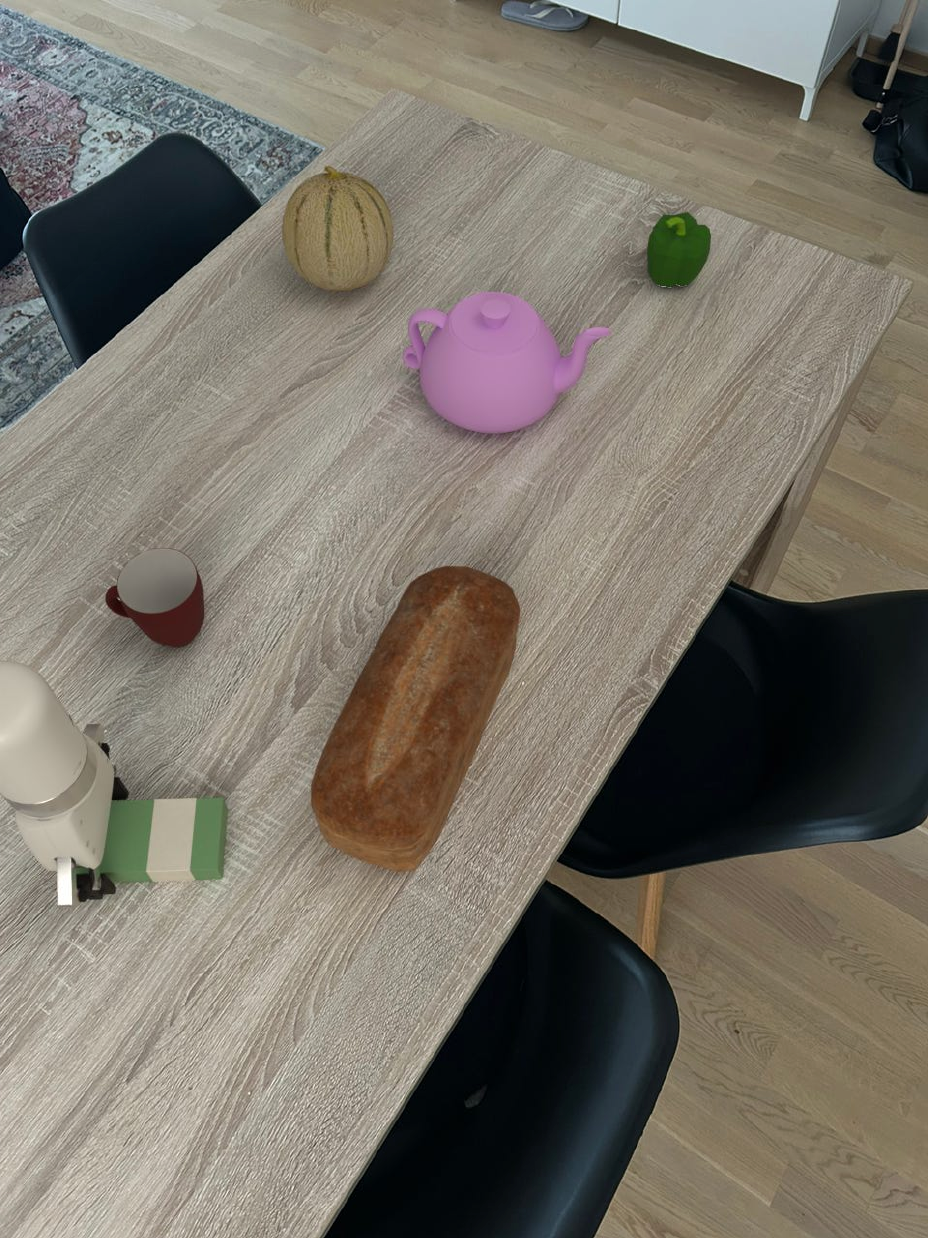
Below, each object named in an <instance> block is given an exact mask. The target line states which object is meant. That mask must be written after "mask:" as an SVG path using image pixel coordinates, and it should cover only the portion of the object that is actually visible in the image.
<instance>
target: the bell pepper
mask: <svg viewBox="0 0 928 1238" xmlns="http://www.w3.org/2000/svg"><path fill="white" fill-rule="evenodd" d="M711 243H712V234H711V229H710V228H709V227H708V226H707V225H706V224H698V221H697V219H696V218H695V217H694V216H693V215H692V214H691V213H689V212H688V211H684V212H681V213H677V214H662V215H661V217H660V218H659V219H658V220H657V222H656V223H655V225H654V226H653V228H652V231H651V232H650V234H649V236H648V242H647V246H646V247H647V248H646V249H647V250H646V251H647V252H646V262H647V272H648V276H649V277H650V279H651V278H652V279H651V281H652V282H653V281H654V282H655V283H656V284H658V285H660V286H666V287H672V288H674V287H675V286H674V285H676V284H677V285H680V286H685V285H687V286H689V285H690V284H691V283H693V281H695V280H696V279H697V278H698V276H699V274H700V273H701V272H702V269H703V268H704V266H705V265H706V264H707V261H708V258H709V255H710V251H711ZM654 282H653V283H654ZM655 283H654V284H655ZM656 284H655V285H656ZM688 284H689V285H688ZM658 285H657V286H658ZM673 286H674V287H673Z"/></svg>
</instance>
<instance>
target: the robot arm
mask: <svg viewBox="0 0 928 1238" xmlns="http://www.w3.org/2000/svg"><path fill="white" fill-rule="evenodd" d="M105 739H106V738H105V735H104V730H103V725H102V723H87V724H86V725H85V727H84V729H83V731H81V729H80V728H79V726H78V725H77V723H76V722H75V720H74V719H73V718H72V716H71V714H70V713H69V711H68V710H67V709H66V707H65V706H64V704H63V703H62V701H61V700H60V699H59V697H58V696H57V694H56V693H55V691H54V690H53V688H52V687H51V685H50V684H49V682H47V680H46V679H45V677H44V676H43V675H42V674H41V673H40V672H39V671H37V670H36V669H34V668H33V667H31V666H30V665H28V664H25V663H22V662H19V661H14V660H1V659H0V796H1V797H2V798H3V799H4V800H5V801H6V802H7V804H8V805H9V806H11V808H12V809H13V810H14V812H15V813H14V817H15V819H14V820H15V823H16V826H17V829H18V831H19V833H20V836H21V838H22V839H23V841H24V843H25V846H26V847H27V848H28V849H29V851H30V852H31V854H32V855H33V856H34V858H35V859H36V861H38V863H39V864H40V865H41V866H42V868H44V869H45V870H47V871H48V872H56V885H57V886H56V888H57V895H56V896H57V908H58V910H68V909H69V910H70V909H73V910H74V909H75V908H77V907H78V906H80V905H81V903H86V902H87V901H88V900H89V901H99V900H103V898H104V896H105V895H115V894H116V893H117V886H116V884H115V883H113V882H112V881H111V880H110V879H109V878H108V877H107V876H106V874H103V873H100V870H99V865H100V863H101V861H102V858H103V854H104V848H105V842H106V835H107V828H108V822H109V814H110V807H111V801H126V800H127V799H128V798H129V793H130V792H129V790H128V788H127V787H126V786H125V784H124V782H123V781H122V779H121V778H120V777H119V776H117V774H118V773H117V772H118V771H117V769H118V768H117V764H116V763H112V762H111V758H110V752H111V748H110V745H109V744H108V742H105ZM83 867H86V868H88V871H89V874H76V868H83Z"/></svg>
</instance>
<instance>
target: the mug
mask: <svg viewBox="0 0 928 1238" xmlns="http://www.w3.org/2000/svg"><path fill="white" fill-rule="evenodd" d="M118 573H119V574H118V576H117V579H116V584H114V585H112V586H110V587H109V588H108V589H107V591H106V593H105V596H104V601H105V605H106V606H107V607H108V609H109V610H110V611H112V612H113V613H114V614H116V615H118V616H120V617H123V618H126V619H130V620H131V621H132V622H133V623H134V624H135V625H136V626H137V627H138V628H139V630H141V631H142V632H143V634H144V635H145V636H146V637H147V638H148V639H150V640H151V641H152V642H154V643H156V644H157V645H160V646H164V647H169V648H173V649H175V648H176V649H177V648H184V647H185V646H188V645H189V644H191V643H192V642H193V641H194V640H195V639H196V637H197V636H198V635H199V633H200V631H201V630H202V627H203V624H204V621H205V595H204V594H205V593H204V586H203V585H204V584H203V582H202V579H201V576H200V573H199V570H198V568H197V566H196V564H195V562H194V561H193V560H192V558H191V557H190V556H189V555H188V554H186V553H184V552H182V551H180V550H178V549H174V548H169V547H157V548H156V547H155V548H151V549H147V550H145V551H142V552H140V553H137V554H136V555H135V556H133V557H132V558H130V559H129V560H128V561H127V562H126V563H125V564H124V565H123V567H122V568H121V570H120V571H119V572H118Z"/></svg>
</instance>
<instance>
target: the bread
mask: <svg viewBox="0 0 928 1238" xmlns="http://www.w3.org/2000/svg"><path fill="white" fill-rule="evenodd" d="M520 619H521V606H520V603H519V600H518V598H517V596H516V594H515V591H514V589H513V588H512V587H511V586H510V584H508V583H507V582H505V581H504V580H502V579H500V578H498V577H496V576H494V575H491V574H489V573H487V572H484V571H482V570H478V569H476V568H473V567H470V566H461V565H460V566H459V565H444V566H439V567H434V568H433V569H431V570H429V571H427V572H425V573H423V574H421V575H418V576H417V577H416V578H414V579H413V580H412V581H411V582H409V584H408V585H407V588H406V589H405V590H404V592H403V594H402V595H401V597H400V599H399V602H398V604H397V606H396V608H395V611H394V612H393V614H392V615H391V617H390V618H389V620H388V622H386V625H385V627H384V628H383V631H382V632H381V634H380V635H379V637H378V640H377V642H376V644H375V646H374V649H373V650H372V653H370V656H369V657H368V659H367V661H366V663H365V664H364V666H363V668H362V670H361V672H360V674H359V675H358V678H357V680H356V681H355V683H354V685H353V687H352V689H351V692H350V693H349V695H348V697H347V700H346V702H345V704H344V705H343V708H342V710H341V712H340V713H339V715H338V717H337V719H336V721H335V723H334V726H333V728H332V730H331V732H330V734H329V735H328V738H327V740H326V743H325V745H324V747H323V749H322V751H321V754H320V757H319V759H318V762H317V764H316V768H315V771H314V775H313V777H312V781H311V784H310V807H311V809H312V811H313V813H314V816H315V817H314V818H315V820H316V822H317V824H318V827H319V833H320V834H321V835H322V837H323V838H324V841H326V843H327V845H329V846H330V847H333V848H334V849H336V850H338V851H340V852H342V853H344V854H346V855H348V856H350V857H353V858H354V859H357V860H359V861H361V862H364V863H367V864H371V865H373V866H377V867H379V868H380V867H381V868H384V869H386V870H390V871H394V872H397V873H402V872H411V871H415V870H416V869H417V868H418V867H419V866H420V864H421V863H422V862H423V861H424V860H425V859H426V857H427V856H428V855H429V853H430V852H431V850H432V849H433V847H434V846H435V844H436V842H437V840H438V838H439V836H440V834H441V832H442V830H443V828H444V825H445V823H446V820H447V818H448V816H449V813H450V811H451V808H452V806H453V804H454V801H455V799H456V797H457V794H458V792H459V789H460V787H461V785H462V782H463V781H464V779H465V777H466V774H467V772H468V770H469V769H470V766H471V763H472V760H473V759H474V756H475V754H476V752H477V749H478V747H479V745H480V743H481V740H482V737H483V734H484V731H485V729H486V726H487V723H488V721H489V718H490V716H491V713H492V710H493V708H494V706H495V705H496V704H495V703H496V701H497V699H498V697H499V694H500V693H501V690H502V688H503V686H504V684H505V682H506V680H507V677H508V675H509V674H510V671H511V668H512V664H513V662H514V658H515V653H516V649H517V633H518V629H519V624H520Z"/></svg>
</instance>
